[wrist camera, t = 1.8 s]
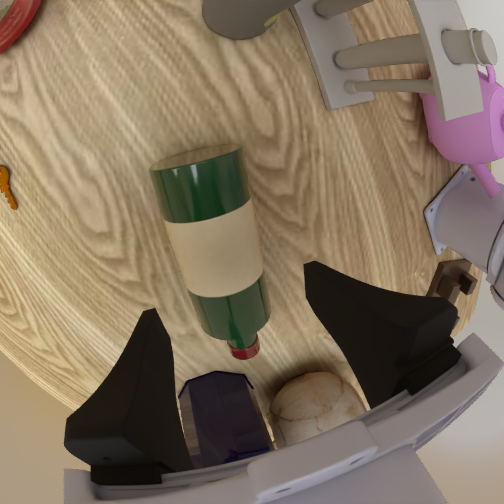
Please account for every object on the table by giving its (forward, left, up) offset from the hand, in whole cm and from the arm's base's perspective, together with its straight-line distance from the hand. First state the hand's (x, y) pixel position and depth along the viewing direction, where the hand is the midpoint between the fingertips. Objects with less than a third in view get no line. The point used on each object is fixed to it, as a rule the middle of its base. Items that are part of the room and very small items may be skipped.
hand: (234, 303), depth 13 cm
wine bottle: (+1, +2, -9) cm, 9 cm away
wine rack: (-15, +33, -9) cm, 37 cm away
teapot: (-25, +7, -9) cm, 28 cm away
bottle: (+14, +15, -9) cm, 22 cm away
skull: (+9, +28, -9) cm, 31 cm away
